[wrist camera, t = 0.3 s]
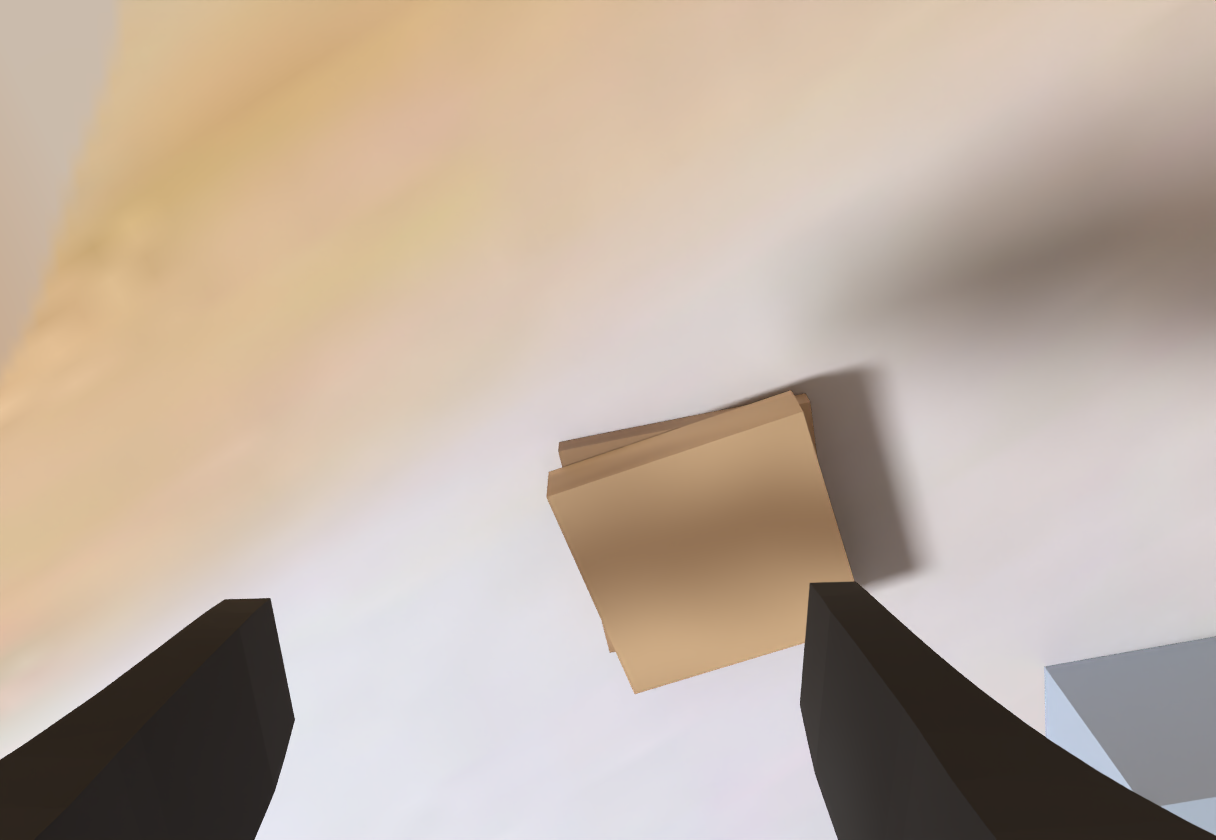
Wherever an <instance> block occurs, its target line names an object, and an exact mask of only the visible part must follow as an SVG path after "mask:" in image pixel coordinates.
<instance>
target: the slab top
mask: <svg viewBox="0 0 1216 840" xmlns="http://www.w3.org/2000/svg"><path fill="white" fill-rule="evenodd" d="M547 499H548V502H549V504H550V506H551V508H552V511H553V513H554V515H555V517H556V520H557V522H558V524H559V526H560V528H561V531H562V533H563V535H564V537H565V540H566V542H567V544H568V546H569V549H570V551H571V553H572V555H573V557H574V560H575V562H576V564H577V566H578V569H579V571H580V573H581V575H582V578H583V580H584V582H585V584H586V586H587V589H588V591H589V593H590V595H591V598H592V600H593V602H594V604H595V607H596V609H597V611H598V613H599V615H600V618H601V620H602V622H603V624H604V627H605V629H606V631H607V633H608V636H609V638H610V640H611V642H612V644H613V647H614V649H615V651H616V653H617V656H618V658H619V660H620V662H621V665H622V667H623V669H624V671H625V673H626V676H627V678H628V680H629V682H630V685H631V687H632V689H633V691H634V694H637V693H640V692H643V691H647V690H650V689H653V688H657V687H660V686H663V685H667V684H670V683H673V682H677V681H680V680H683V679H687V678H690V677H693V676H696V675H700V674H703V673H706V672H710V671H713V670H716V669H720V668H723V667H726V666H730V665H733V664H736V663H739V662H743V661H746V660H749V659H753V658H756V657H759V656H763V655H766V654H769V653H773V652H776V651H779V650H783V649H786V648H789V647H792V646H796V645H799V644H802V643H805V635H806V622H807V610H808V597H809V585H810V583H817V582H852V581H854V578H853V575H852V572H851V568H850V565H849V562H848V559H847V555H846V552H845V549H844V545H843V542H842V539H841V535H840V532H839V529H838V526H837V522H836V519H835V516H834V512H833V509H832V506H831V502H830V499H829V496H828V492H827V489H826V486H825V483H824V479H823V476H822V473H821V469H820V466H819V463H818V459H817V456H816V453H815V450H814V446H813V443H812V440H811V436H810V433H809V430H808V426H807V423H806V420H805V417H804V413H803V411H802V409H801V407H800V405H799V403H798V402H797V400H796V398H795V396H794V394H793V392H792V391H791V390H790V391H787V392H784V393H781V394H778V395H775V396H772V397H769V398H766V399H763V400H760V401H758V402H755V403H752V404H749V405H746V406H743V407H740V408H737V409H734V410H731V411H728V412H725V413H722V414H719V415H716V416H713V417H710V418H707V419H704V420H701V421H698V422H695V423H692V424H689V425H687V426H684V427H681V428H678V429H675V430H672V431H669V432H666V433H663V434H660V435H657V436H654V437H651V438H648V439H645V440H642V441H639V442H636V443H633V444H630V445H627V446H624V447H621V448H619V449H616V450H613V451H610V452H607V453H604V454H601V455H598V456H595V457H592V458H589V459H586V460H583V461H580V462H577V463H574V464H571V465H568V466H565V467H562V468H559V469H556V470H553V471H550V472H549V475H548V486H547Z"/></svg>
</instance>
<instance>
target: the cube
mask: <svg viewBox="0 0 1216 840" xmlns="http://www.w3.org/2000/svg"><path fill="white" fill-rule="evenodd" d="M1044 668H1045V724H1046V738H1048V739H1049V740H1051V741H1052V742H1054V743H1055V744H1057V745H1059V746H1060V747H1062V748H1063V749H1065V750H1066V751H1068V752H1069V753H1071V754H1073V755H1074V756H1076V757H1077V758H1079V759H1080V760H1082V761H1083V762H1085V763H1087V764H1088V765H1090V766H1091V767H1093V768H1094V769H1096V770H1098V771H1099V772H1101V773H1102V774H1104V775H1106V776H1108V777H1109V778H1111V779H1113V780H1114V781H1116V782H1118V783H1119V784H1121V785H1123V786H1124V787H1126V788H1128V789H1130V790H1131V791H1133V792H1135V793H1137V794H1139V795H1141V796H1142V797H1144V798H1146V799H1148V800H1150V801H1151V802H1153V803H1155V804H1157V805H1159V806H1161V807H1162V808H1164V809H1166V810H1168V811H1170V812H1172V813H1173V814H1175V815H1177V816H1179V817H1181V818H1183V819H1184V820H1186V821H1188V822H1190V823H1192V824H1194V825H1196V826H1198V827H1200V828H1202V829H1204V830H1206V831H1208V832H1210V833H1212V834H1214V835H1216V636H1215V637H1210V638H1204V639H1198V640H1193V641H1187V642H1182V643H1176V644H1170V645H1165V646H1159V647H1153V648H1148V649H1142V650H1136V651H1131V652H1125V653H1119V654H1114V655H1108V656H1102V657H1097V658H1091V659H1085V660H1080V661H1074V662H1069V663H1063V664H1057V665H1052V666H1046V667H1044Z"/></svg>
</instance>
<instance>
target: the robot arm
mask: <svg viewBox="0 0 1216 840" xmlns="http://www.w3.org/2000/svg"><path fill="white" fill-rule="evenodd" d="M800 707H801V712H802V717H803V722H804V726H805V731H806V736H807V741H808V745H809V749H810V754H811V758H812V762H813V767H814V771H815V775H816V778H817V781H818V784H819V787H820V789H821V792H822V795H823V798H824V801H825V804H826V807H827V809H828V812H829V815H830V818H831V821H832V824H833V827H834V829H835V832H836V835H837V838H838V840H1216V835H1214V834H1212V833H1210V832H1208V831H1206V830H1204V829H1202V828H1200V827H1198V826H1196V825H1194V824H1192V823H1190V822H1188V821H1186V820H1184V819H1183V818H1181V817H1179V816H1177V815H1175V814H1173V813H1172V812H1170V811H1168V810H1166V809H1164V808H1162V807H1161V806H1159V805H1157V804H1155V803H1153V802H1151V801H1150V800H1148V799H1146V798H1144V797H1142V796H1141V795H1139V794H1137V793H1135V792H1133V791H1131V790H1130V789H1128V788H1126V787H1124V786H1123V785H1121V784H1119V783H1118V782H1116V781H1114V780H1113V779H1111V778H1109V777H1108V776H1106V775H1104V774H1102V773H1101V772H1099V771H1098V770H1096V769H1094V768H1093V767H1091V766H1090V765H1088V764H1087V763H1085V762H1083V761H1082V760H1080V759H1079V758H1077V757H1076V756H1074V755H1073V754H1071V753H1069V752H1068V751H1066V750H1065V749H1063V748H1062V747H1060V746H1059V745H1057V744H1055V743H1054V742H1052V741H1051V740H1049V739H1048V738H1046V737H1045V736H1043V735H1042V734H1040V733H1039V732H1038V731H1036V730H1035V729H1033V728H1032V727H1030V726H1029V725H1027V724H1026V723H1025V722H1023V721H1022V720H1021V719H1019V718H1018V717H1017V716H1015V715H1014V714H1013V713H1011V712H1010V711H1009V710H1007V709H1006V708H1005V707H1003V706H1002V705H1001V704H999V703H998V702H996V701H995V700H994V699H992V698H991V697H990V696H988V695H987V694H986V693H984V692H983V691H982V690H981V689H979V688H978V687H977V686H976V685H974V684H973V683H972V682H971V681H969V680H968V679H967V678H966V677H964V676H963V675H962V674H961V673H959V672H958V671H957V670H956V669H955V668H953V667H952V666H951V665H950V664H949V663H947V662H946V661H945V660H944V659H943V658H941V657H940V656H939V655H938V654H937V653H936V652H934V651H933V650H932V649H931V648H930V647H929V646H927V645H926V644H925V643H924V642H923V641H922V640H920V639H919V638H918V637H917V636H916V635H915V634H914V633H913V632H911V631H910V630H909V629H908V628H907V627H906V626H905V625H904V624H902V623H901V622H900V621H899V620H898V619H897V618H896V617H895V616H894V615H892V614H891V613H890V612H889V611H888V610H887V609H886V608H885V607H884V606H882V605H881V604H880V603H879V602H878V601H877V600H876V599H875V598H874V597H873V596H871V595H870V594H869V593H868V592H867V591H866V590H865V589H864V588H862V587H861V586H860V585H859V584H858V583H856V582H855V581H852V582H817V583H810V585H809V597H808V610H807V622H806V635H805V647H804V660H803V672H802V685H801V697H800ZM294 721H295V718H294V713H293V708H292V703H291V698H290V693H289V688H288V683H287V678H286V673H285V669H284V664H283V659H282V654H281V649H280V644H279V639H278V634H277V629H276V624H275V619H274V614H273V609H272V604H271V599H270V598H260V599H225V600H223V601H222V602H220V603H219V604H217V605H216V606H214V607H213V608H211V609H210V610H208V611H207V612H205V613H204V614H203V615H201V616H200V617H199V618H197V619H196V620H195V621H193V622H192V623H191V624H189V625H188V626H187V627H185V628H184V629H183V630H181V631H180V632H179V633H177V634H176V635H175V636H173V637H172V638H171V639H169V640H168V641H167V642H165V643H164V644H163V645H162V646H160V647H159V648H158V649H156V650H155V651H154V652H152V653H151V654H150V655H148V656H147V657H146V658H144V659H143V660H142V661H140V662H139V663H138V664H136V665H135V666H134V667H132V668H131V669H130V670H128V671H127V672H126V673H124V674H123V675H122V676H120V677H119V678H118V679H116V680H115V681H114V682H112V683H111V684H110V685H108V686H107V687H106V688H104V689H103V690H102V691H100V692H99V693H97V694H96V695H95V696H93V697H92V698H90V699H89V700H87V701H86V702H85V703H83V704H82V705H80V706H79V707H77V708H76V709H74V710H73V711H72V712H70V713H69V714H67V715H66V716H64V717H63V718H61V719H60V720H59V721H57V722H56V723H54V724H53V725H51V726H50V727H48V728H47V729H46V730H44V731H43V732H41V733H40V734H38V735H37V736H35V737H34V738H33V739H31V740H30V741H28V742H27V743H25V744H24V745H22V746H21V747H19V748H18V749H16V750H15V751H13V752H12V753H10V754H8V755H7V756H5V757H4V758H2V759H1V760H0V840H254V839H255V837H256V835H257V832H258V830H259V828H260V825H261V823H262V821H263V818H264V816H265V813H266V811H267V809H268V806H269V804H270V801H271V799H272V797H273V794H274V792H275V789H276V785H277V782H278V779H279V775H280V772H281V769H282V765H283V762H284V758H285V755H286V751H287V747H288V743H289V740H290V736H291V732H292V728H293V725H294Z"/></svg>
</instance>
